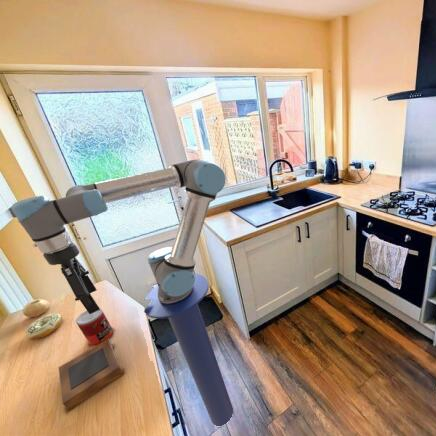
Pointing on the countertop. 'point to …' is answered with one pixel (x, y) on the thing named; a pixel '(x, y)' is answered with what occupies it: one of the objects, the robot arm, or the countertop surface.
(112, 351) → the wooden picture frame
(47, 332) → the decorated donut
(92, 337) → the canned food
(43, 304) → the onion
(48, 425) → the countertop surface
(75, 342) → the countertop surface
